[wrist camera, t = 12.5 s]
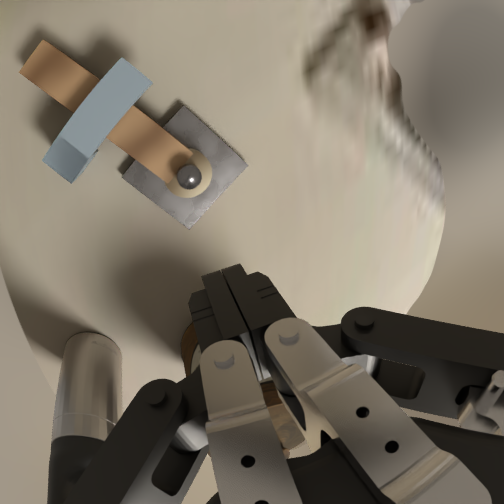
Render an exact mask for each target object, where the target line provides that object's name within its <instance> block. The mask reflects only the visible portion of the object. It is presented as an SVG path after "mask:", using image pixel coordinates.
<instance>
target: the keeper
mask: <svg viewBox="0 0 504 504" xmlns="http://www.w3.org/2000/svg"><path fill="white" fill-rule="evenodd" d="M152 84H153V82H152V81H150V80H149V79H148V78H147V77H146V76H144V75H143V74H142V73H141V72H140V71H138V70H137V69H136V68H135V67H134V66H132V65H131V64H130V63H129V62H127V61H126V60H125V59H124V58H122V57H121V58H120V59H119V61H118V62H117V63H116V64H115V65H114V66H113V67H112V68H111V69H110V70H109V71H108V73H107V74H106V75H105V76H104V77H103V78H102V79H101V80H100V82H99V83H98V84H97V85H96V86H95V88H94V89H93V90H92V91H91V92H90V94H89V95H88V96H87V97H86V99H85V100H84V101H83V102H82V104H81V105H80V106H79V107H78V109H77V110H76V111H75V113H74V114H73V115H72V117H71V118H70V119H69V121H68V122H67V124H66V125H65V126H64V128H63V129H62V131H61V132H60V133H59V135H58V136H57V138H56V139H55V141H54V142H53V144H52V145H51V147H50V148H49V150H48V152H47V153H46V155H45V156H44V158H43V159H42V161H43V162H44V163H46V164H47V165H48V166H49V167H51V168H52V169H53V170H54V171H56V172H57V173H58V174H60V175H61V176H62V177H63V178H65V179H66V180H67V181H68V182H70V183H71V184H72V183H73V182H74V181H75V180H76V179H77V178H78V177H79V175H80V174H81V173H82V172H83V171H84V170H85V168H86V167H87V165H88V164H89V163H90V161H91V160H92V159H93V157H94V156H95V155H96V153H97V152H98V150H97V148H98V147H99V146H100V144H101V143H102V142H103V140H104V139H105V138H106V137H107V135H108V134H109V133H110V132H111V130H112V129H113V128H114V127H115V125H116V124H117V123H118V122H119V121H120V119H121V118H122V117H123V116H124V115H125V114H126V112H127V111H128V110H129V109H130V108H131V107H132V105H133V104H134V103H135V102H136V101H137V100H138V99H139V98H140V97H141V95H142V94H143V93H144V92H145V91H146V90H147V89H148V88H149V87H150V86H151V85H152Z"/></svg>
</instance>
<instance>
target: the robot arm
mask: <svg viewBox="0 0 504 504" xmlns="http://www.w3.org/2000/svg"><path fill="white" fill-rule="evenodd" d="M221 271H222V273H221ZM221 271H220V270H219V271H216V272H213V273H210V274H206V275H203V276H201V277H202V280H203V283H204V286H205V289H204V290H201V291H198V292H195V293H192V295H191V298H190V301H189V308H190V312H191V316H192V320H193V324H194V328H195V331H196V335H197V339H198V343H199V347H200V350H201V357H200V361H199V365H198V367H197V368H196V369H195V371H194V372H193V373H192V374H190V375H189V376H188V377H186V378H184V379H183V380H181V381H179V382H178V383H175V382H174V381H171V380H168V379H157V380H153V381H151V382H149V383H147V384H145V385H144V386H143V387H142V388H141V389H140V390H139V391H138V393H137V394H136V396H135V397H134V399H133V400H132V401H131V403H130V404H129V406H128V407H127V409H126V410H125V412H124V413H123V408H122V355H121V351H120V349H119V348H118V346H117V345H116V344H115V343H114V342H113V341H112V340H110V339H109V338H107V337H105V336H102V335H100V334H96V333H89V332H87V333H79V334H76V335H74V336H72V337H71V338H70V339H69V340H68V341H67V343H66V346H65V351H64V355H63V360H62V365H61V370H60V376H59V382H58V388H57V395H56V402H55V410H54V420H53V429H52V441H51V455H50V461H49V478H48V501H47V504H181V503H182V501H183V499H184V497H185V495H186V493H187V492H188V490H189V487H190V486H191V484H192V482H193V480H194V478H195V476H196V474H197V473H198V470H199V469H200V467H201V465H202V463H203V461H204V459H205V457H206V455H207V453H208V451H209V450H210V455H211V460H212V464H213V470H214V474H215V479H216V483H217V488H218V492H217V493H216V494H215V495H214V496H213V497H212V498H211V499H210V500H209V501H208V502H207V503H206V504H504V334H503V333H498V332H492V331H487V330H482V329H476V328H470V327H465V326H460V325H455V324H450V323H445V322H439V321H434V320H429V319H424V318H419V317H414V316H409V315H405V314H400V313H395V312H390V311H386V310H381V309H376V308H371V307H358V308H354V309H352V310H350V311H348V312H347V313H346V314H345V315H344V316H343V318H342V320H341V324H337V325H330V326H323V327H316V326H311V325H310V324H309V323H308V322H306V321H305V320H302V319H299V318H297V317H296V316H295V314H294V313H293V312H292V310H291V309H290V307H289V306H288V304H287V303H286V302H285V300H284V299H283V297H282V296H281V295H280V293H279V292H278V290H277V289H276V287H275V286H274V285H273V283H272V282H271V280H270V279H269V277H267V276H266V275H264V274H262V273H260V272H255V273H252V274H249V275H247V274H246V272H245V271H244V269H243V267H242V265H241V264H237V265H234V266H231V267H228V268H225V269H222V270H221ZM385 359H386V360H385ZM389 360H390V361H389ZM393 361H394V362H393ZM397 362H398V363H397ZM402 363H403V364H402ZM406 364H407V365H406ZM410 365H411V366H410ZM415 366H416V367H415ZM259 369H260V370H259ZM260 372H261V374H262V376H263V378H264V379H266V378H268V377H272V379H273V381H274V383H275V386H276V390H277V394H278V396H279V398H280V399H281V401H282V402H283V404H284V406H285V407H286V409H287V410H288V412H289V414H290V415H291V417H292V418H293V420H294V421H295V423H296V425H297V426H298V428H299V429H300V431H301V432H302V434H303V435H304V437H305V439H306V441H307V444H308V446H309V449H310V451H311V452H312V454H310V455H307V456H302V457H296V458H290V459H285V456H284V453H283V450H282V448H281V445H280V442H279V439H278V437H277V434H276V431H275V428H274V425H273V423H272V420H271V417H270V414H269V411H268V409H267V406H266V404H265V401H264V398H263V393H262V389H261V386H260V383H259V381H261V380H262V378H261V374H260ZM400 407H403V408H407V409H411V410H416V411H420V412H424V413H429V414H434V415H438V416H444V417H448V418H454V419H458V422H459V424H460V428H459V427H455V426H450V425H446V424H442V423H438V422H434V421H429V420H425V419H422V418H417V417H409V416H407V414H406V413H405V412H404V411H403V410H402V409H401V408H400Z"/></svg>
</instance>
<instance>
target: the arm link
mask: <svg viewBox="0 0 504 504" xmlns="http://www.w3.org/2000/svg"><path fill="white" fill-rule="evenodd" d="M19 73H20V74H22V75H23V76H24V77H26V78H27V79H28V80H30V81H31V82H33V83H34V84H35V85H37V86H38V87H39V88H41V89H42V90H43V91H45V92H46V93H47V94H49V95H50V96H51V97H53V98H54V99H55V100H57V101H58V102H59V103H61V104H62V105H63V106H65V107H66V108H67V109H69V110H70V111H71V112H73V113H75V111H76V110H77V109H78V107H79V106H80V105H81V104H82V102H83V101H84V100H85V99H86V97H87V96H88V95H89V94H90V92H91V91H92V90H93V89H94V88H95V86H96V85H97V84H98V83H99V82H100V79H98V78H97V77H96V76H94V75H93V74H92V73H90V72H89V71H88V70H86V69H85V68H84V67H82V66H81V65H79V64H78V63H77V62H75V61H74V60H73V59H71V58H70V57H68V56H67V55H66V54H64V53H63V52H61V51H60V50H58V49H57V48H56V47H54V46H53V45H51V44H50V43H48V42H47V41H45V40H42V41H41V42H40V44H39V45H38V46H37V48H36V49H35V50H34V52H33V53H32V54H31V56H30V57H29V59H28V60H27V61H26V63H25V64H24V66H23V67H22V69H21V70H20V72H19ZM106 138H108V139H109V140H110V141H112V142H113V143H114V144H116V145H117V146H118V147H120V148H121V149H122V150H124V151H125V152H126V153H128V154H129V155H130V156H132V157H133V158H134V159H136V160H137V161H138V162H140V163H141V164H142V165H144V166H145V167H146V168H148V169H149V170H150V171H152V172H153V173H154V174H156V175H157V176H158V177H160V178H161V179H162V180H164V182H165V185H166V187H167V188H168V189H169V191H170V192H172V193H173V194H174V195H176V196H179V197H182V198H191V197H195V196H197V195H199V194H201V193H202V192H203V191H205V190H206V188H207V187H208V186H209V184H210V182H211V178H212V168H211V164H210V162H209V161H208V159H207V158H206V157H205V156H204V155H203V154H202V153H201V152H199V151H198V150H196V149H193V148H187V147H186V146H185V145H184V144H182V143H181V142H180V141H179V140H177V139H176V138H175V137H174V136H172V135H171V134H170V133H169V132H167V131H166V130H165V129H164V128H162V127H161V126H160V125H159V124H157V123H156V122H155V121H153V120H152V119H151V118H150V117H148V116H147V115H146V114H145V113H143V112H142V111H141V110H139V109H138V108H137V107H135V106H134V105H132V107H131V108H130V109H129V110H128V111H127V112H126V114H125V115H124V116H123V117H122V118H121V119H120V121H119V122H118V123H117V124H116V125H115V127H114V128H113V129H112V130H111V132H110V133H109V134H108V135H107V137H106ZM184 164H194V165H195V166H197V167H198V169H199V170H200V172H201V174H202V180H201V183H200V184H199V185H198V186H197V187H196V188H194V189H191V190H187V189H184V188H182V187H181V186H180V185H179V183H178V181H177V171H178V169H179V168H180V167H181V166H182V165H184Z"/></svg>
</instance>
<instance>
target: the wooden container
mask: <svg viewBox="0 0 504 504" xmlns="http://www.w3.org/2000/svg"><path fill="white" fill-rule="evenodd" d="M181 351H182V357H183V362H184V367H185V373H186V377H188V376H189V375H190V374H192V373H193V372H194V371H195V369H196V368H197V367H198V365H199V361H200V357H201V350H200V347H199V343H198V339H197V335H196V331H195V328H194V324H193V323H192V324H191V325H190V326H189V327H188V328H187V330H186V331H185V333H184V335H183V338H182V342H181ZM259 370H260V369H259ZM260 374H261V372H260ZM261 378H262V380H261V381H259V383H260V386H261V389H262V393H263V398H264V401H265V404H266V406H267V409H268V411H269V414H270V417H271V420H272V423H273V425H274V428H275V431H276V434H277V437H278V439H279V442H280V445H281V448H282V450H283V453H284V456H285V459H288V458H289V455H290V452H289V450H291V449H292V448H294V447H296V446H297V445H299V444H300V443H301V442H303V441H304V440H305V437H304V435H303V434H302V432H301V431H300V429H299V428H298V426H297V425H296V423H295V421H294V420H293V418H292V417H291V415H290V414H289V412H288V410H287V409H286V407H285V406H284V404H283V402H282V401H281V399H280V398H279V396H278V394H277V390H276V386H275V383H274V381H273V379H272V377H268V378H266V379H264V378H263V376H262V374H261ZM208 455H209V456H210V457H211V455H210V450H209V451H208Z"/></svg>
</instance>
